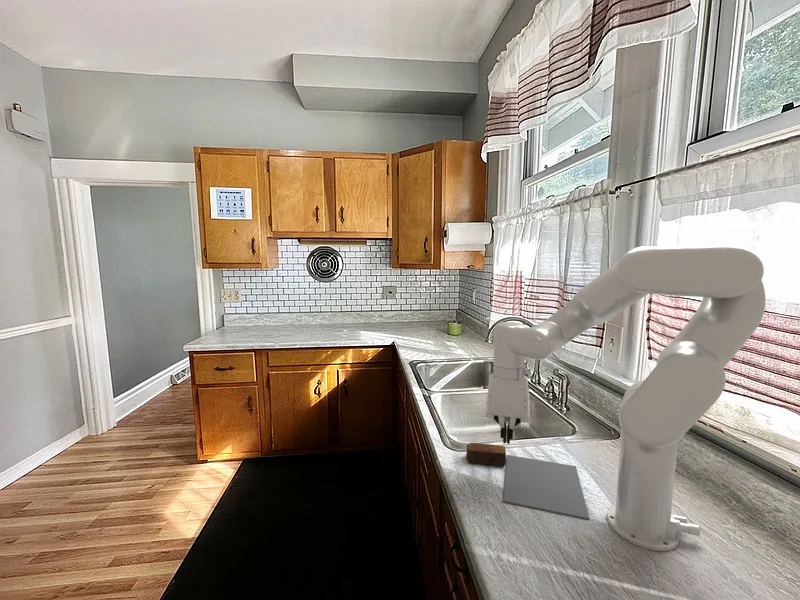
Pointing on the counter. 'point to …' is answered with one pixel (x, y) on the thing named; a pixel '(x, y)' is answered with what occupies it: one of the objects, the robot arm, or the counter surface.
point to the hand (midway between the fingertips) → (506, 440)
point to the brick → (486, 454)
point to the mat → (544, 486)
